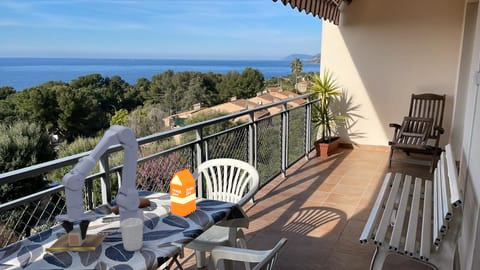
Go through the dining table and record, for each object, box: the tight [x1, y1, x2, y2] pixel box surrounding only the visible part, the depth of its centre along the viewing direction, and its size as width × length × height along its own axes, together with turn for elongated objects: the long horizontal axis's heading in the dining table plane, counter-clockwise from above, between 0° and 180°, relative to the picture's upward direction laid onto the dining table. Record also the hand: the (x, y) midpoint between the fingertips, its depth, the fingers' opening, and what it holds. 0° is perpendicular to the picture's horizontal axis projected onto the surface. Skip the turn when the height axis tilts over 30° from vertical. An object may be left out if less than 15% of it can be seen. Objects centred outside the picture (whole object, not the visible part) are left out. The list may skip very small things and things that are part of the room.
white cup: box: [121, 218, 144, 252], centre depth 139 cm, size 8×8×10 cm
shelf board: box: [44, 233, 108, 253], centre depth 143 cm, size 18×14×2 cm
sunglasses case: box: [109, 198, 152, 216], centre depth 179 cm, size 18×7×7 cm
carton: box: [67, 226, 87, 246], centre depth 140 cm, size 4×6×5 cm, turn 0°
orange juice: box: [169, 168, 197, 217], centre depth 173 cm, size 8×9×20 cm
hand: (77, 238), depth 141 cm, fingers closed on carton, 4 cm apart
